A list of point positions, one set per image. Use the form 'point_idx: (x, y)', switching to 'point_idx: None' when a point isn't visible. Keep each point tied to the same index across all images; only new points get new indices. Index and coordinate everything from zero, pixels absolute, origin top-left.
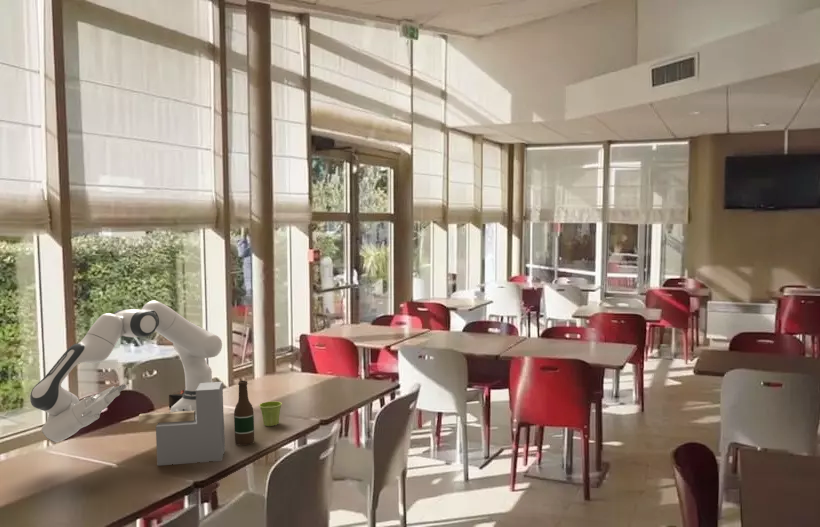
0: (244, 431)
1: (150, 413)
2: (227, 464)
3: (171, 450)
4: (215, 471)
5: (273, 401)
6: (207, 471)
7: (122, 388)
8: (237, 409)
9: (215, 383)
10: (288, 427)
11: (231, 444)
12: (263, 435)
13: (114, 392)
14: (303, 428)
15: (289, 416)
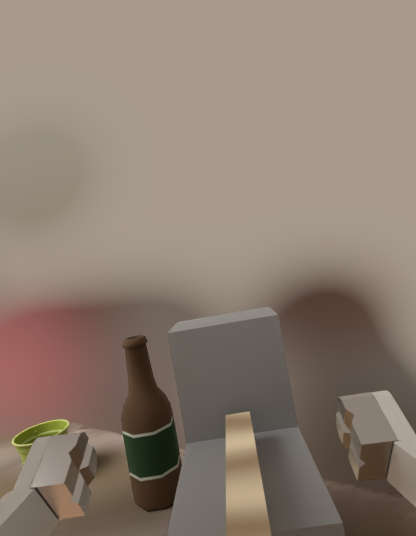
0: (178, 455)
1: (232, 524)
2: (331, 490)
3: None
4: (390, 500)
5: (21, 432)
6: (396, 517)
7: (84, 484)
8: (157, 408)
9: (194, 321)
10: (97, 452)
11: (164, 516)
12: (126, 475)
13: (401, 415)
14: (120, 436)
15: (18, 464)
